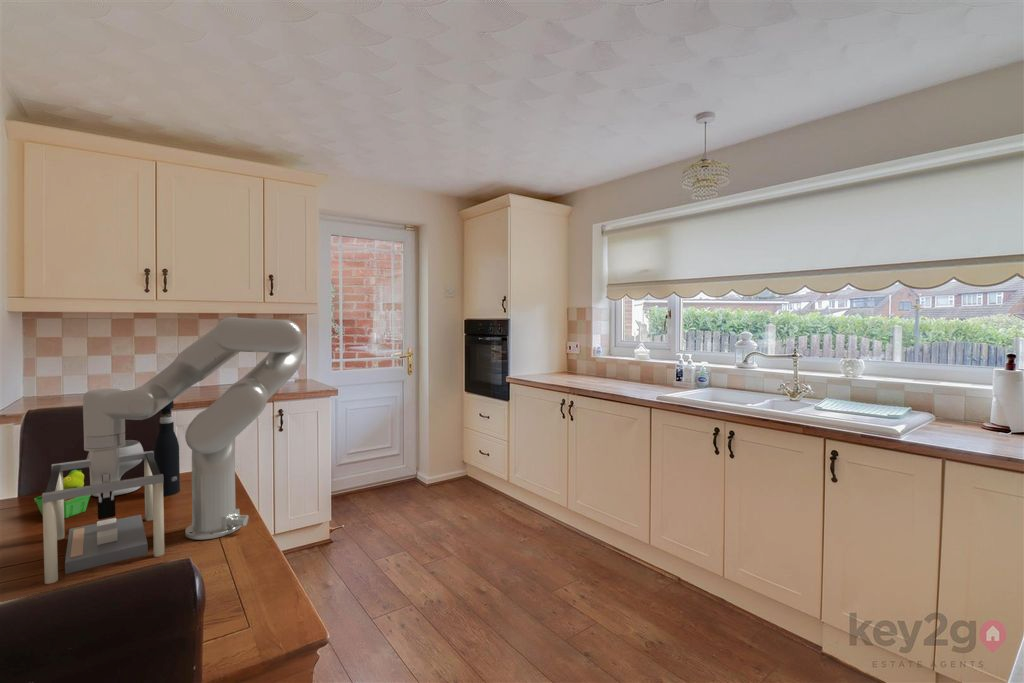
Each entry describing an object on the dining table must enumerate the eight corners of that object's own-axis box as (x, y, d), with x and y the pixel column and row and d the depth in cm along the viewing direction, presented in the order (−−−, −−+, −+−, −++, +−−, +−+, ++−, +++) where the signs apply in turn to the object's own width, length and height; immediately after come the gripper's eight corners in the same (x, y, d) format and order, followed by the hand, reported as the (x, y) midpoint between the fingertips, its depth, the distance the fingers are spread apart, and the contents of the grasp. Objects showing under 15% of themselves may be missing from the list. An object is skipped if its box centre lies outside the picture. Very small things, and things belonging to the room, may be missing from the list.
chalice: (112, 501, 144) (111, 451, 143) (75, 497, 146) (73, 448, 146) (155, 485, 157) (154, 440, 157) (120, 482, 160) (119, 438, 160)
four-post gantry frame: (53, 538, 119) (52, 470, 118) (154, 517, 132) (152, 456, 131) (44, 585, 98) (42, 503, 97) (164, 554, 111) (163, 482, 110)
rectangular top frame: (52, 470, 118) (51, 463, 118) (152, 456, 131) (152, 450, 131) (42, 503, 97) (41, 495, 97) (163, 482, 110) (163, 475, 110)
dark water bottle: (159, 490, 153) (157, 397, 152) (182, 488, 155) (181, 396, 154) (151, 497, 147) (149, 400, 146) (175, 495, 149) (173, 399, 147)
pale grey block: (97, 539, 111) (96, 532, 111) (117, 535, 113) (117, 528, 113) (97, 545, 110) (97, 537, 109) (117, 540, 112) (117, 533, 112)
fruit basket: (32, 516, 132) (31, 476, 131) (68, 504, 140) (67, 466, 140) (63, 520, 129) (62, 479, 129) (98, 508, 138) (97, 469, 137)
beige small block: (97, 528, 117) (97, 521, 117) (116, 524, 119) (116, 517, 119) (97, 533, 116) (97, 526, 115) (116, 529, 118) (116, 522, 118)
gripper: (84, 437, 117) (86, 511, 118) (83, 450, 106) (85, 531, 106) (124, 433, 122) (125, 504, 123) (126, 444, 111) (128, 523, 111)
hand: (106, 516), depth 114 cm, fingers closed
